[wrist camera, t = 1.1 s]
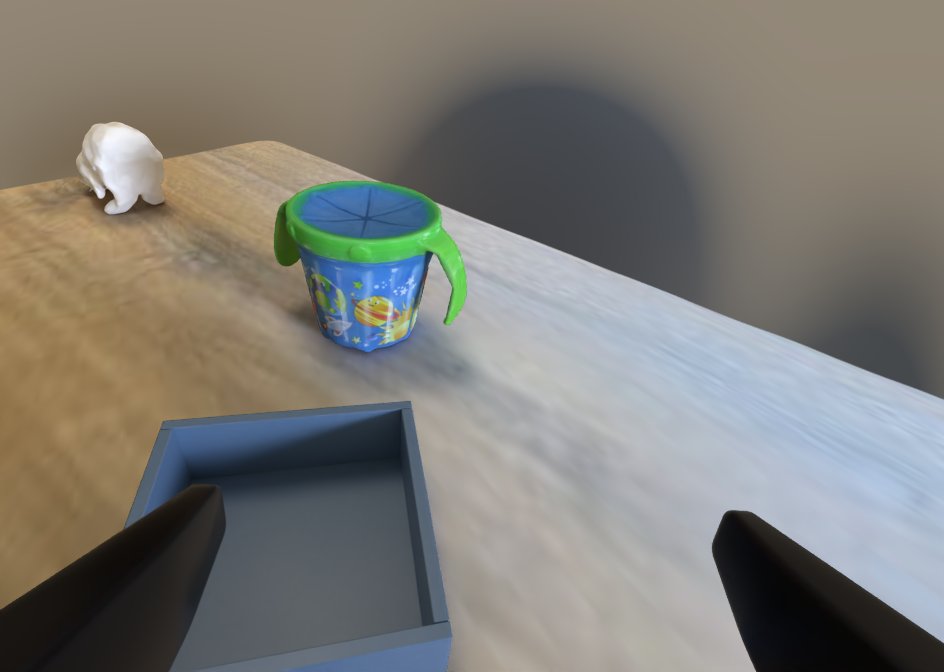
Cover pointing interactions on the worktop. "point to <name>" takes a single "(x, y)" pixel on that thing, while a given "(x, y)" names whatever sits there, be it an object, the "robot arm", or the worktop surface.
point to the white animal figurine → (121, 166)
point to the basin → (309, 541)
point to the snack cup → (367, 258)
